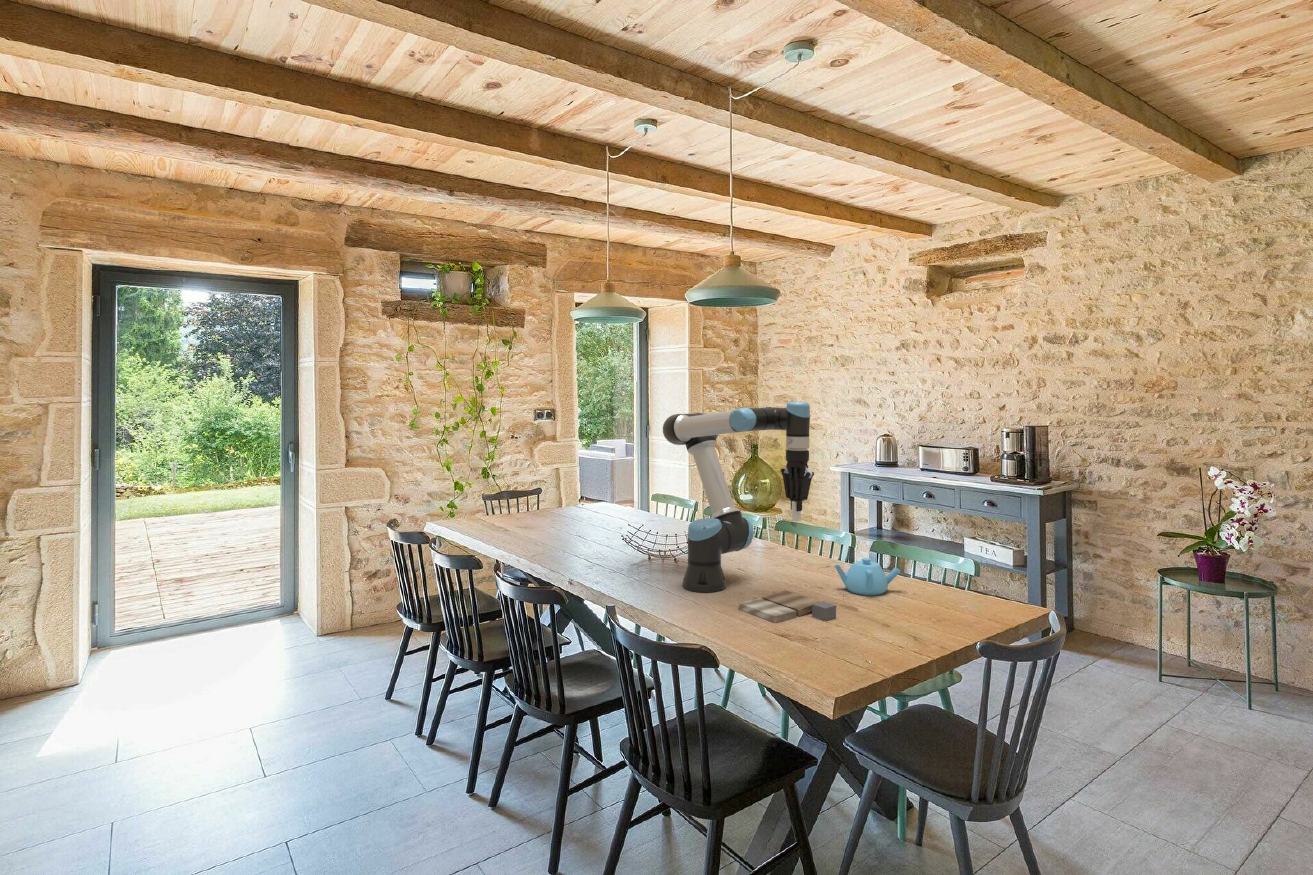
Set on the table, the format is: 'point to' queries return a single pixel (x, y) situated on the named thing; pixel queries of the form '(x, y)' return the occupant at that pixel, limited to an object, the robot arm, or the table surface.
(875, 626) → the table surface
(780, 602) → the board
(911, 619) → the table surface
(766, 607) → the laid floor rows
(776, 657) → the table surface
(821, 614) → the block
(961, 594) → the table surface
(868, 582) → the teapot
